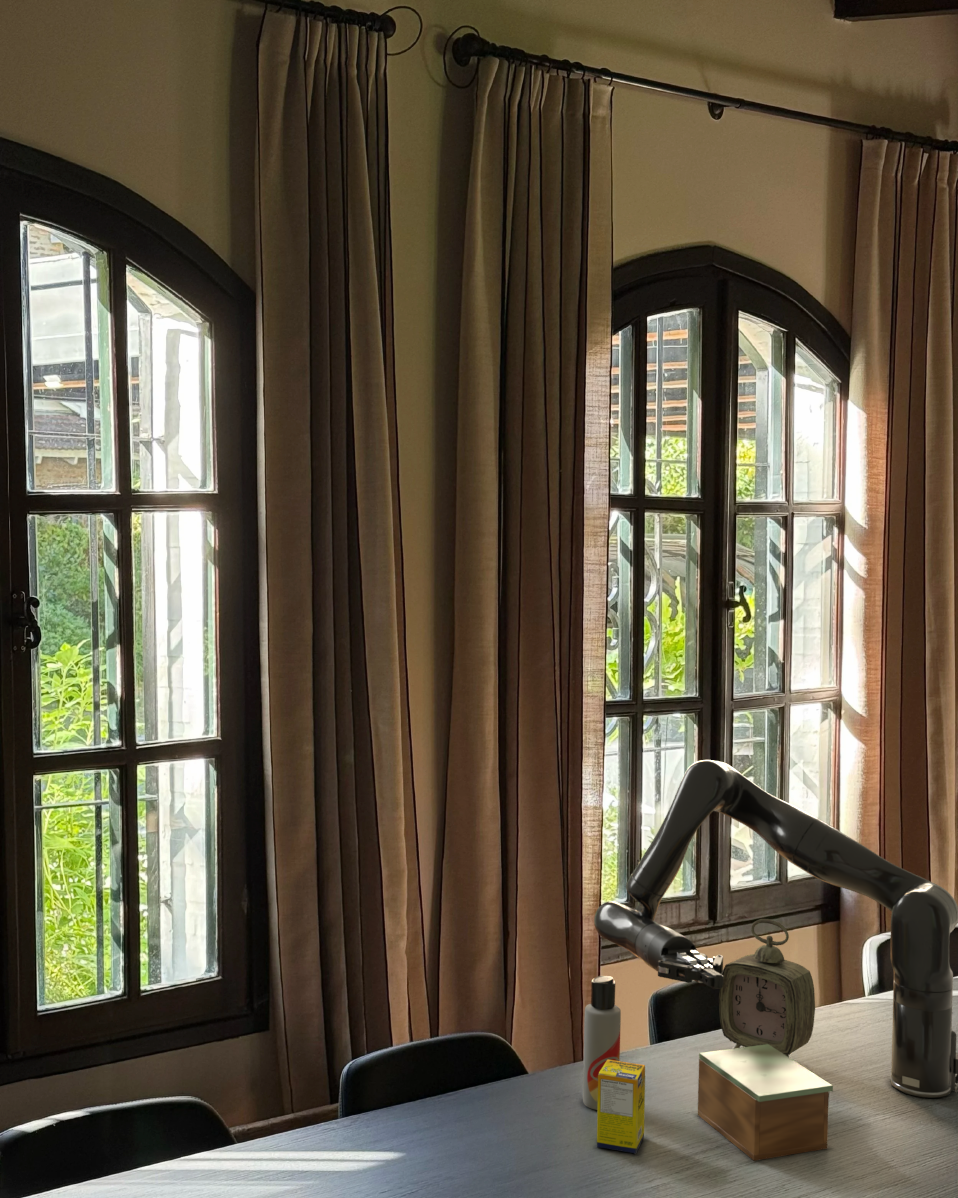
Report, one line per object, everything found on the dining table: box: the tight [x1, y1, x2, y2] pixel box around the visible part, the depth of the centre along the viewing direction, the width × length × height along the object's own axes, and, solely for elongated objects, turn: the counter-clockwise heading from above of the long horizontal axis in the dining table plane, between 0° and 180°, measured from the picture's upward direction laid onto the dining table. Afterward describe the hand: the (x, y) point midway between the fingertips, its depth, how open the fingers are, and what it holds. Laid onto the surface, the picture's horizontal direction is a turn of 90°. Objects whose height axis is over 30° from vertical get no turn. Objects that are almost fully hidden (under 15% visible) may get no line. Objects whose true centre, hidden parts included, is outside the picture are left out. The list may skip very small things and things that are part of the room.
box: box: [697, 1058, 830, 1161], centre depth 179 cm, size 16×13×9 cm
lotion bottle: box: [582, 975, 622, 1111], centre depth 187 cm, size 6×6×20 cm
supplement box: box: [596, 1059, 646, 1155], centre depth 174 cm, size 6×6×11 cm
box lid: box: [698, 1044, 834, 1102], centre depth 178 cm, size 16×13×1 cm
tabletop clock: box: [718, 918, 816, 1058], centre depth 205 cm, size 14×9×25 cm, turn 49°
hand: (718, 982), depth 190 cm, fingers closed
